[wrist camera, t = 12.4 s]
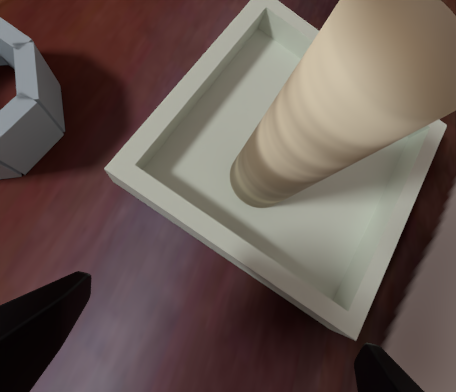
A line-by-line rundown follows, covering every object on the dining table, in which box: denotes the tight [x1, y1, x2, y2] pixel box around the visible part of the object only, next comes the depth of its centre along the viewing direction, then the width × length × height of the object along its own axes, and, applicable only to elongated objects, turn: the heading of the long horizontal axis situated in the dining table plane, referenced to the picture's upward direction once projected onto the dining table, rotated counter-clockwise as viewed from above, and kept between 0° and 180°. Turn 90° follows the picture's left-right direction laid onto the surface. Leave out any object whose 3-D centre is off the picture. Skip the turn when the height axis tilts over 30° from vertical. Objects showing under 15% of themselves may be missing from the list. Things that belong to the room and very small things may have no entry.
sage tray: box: [104, 0, 447, 341], centre depth 20 cm, size 18×18×3 cm
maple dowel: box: [230, 0, 456, 208], centre depth 14 cm, size 4×4×13 cm
